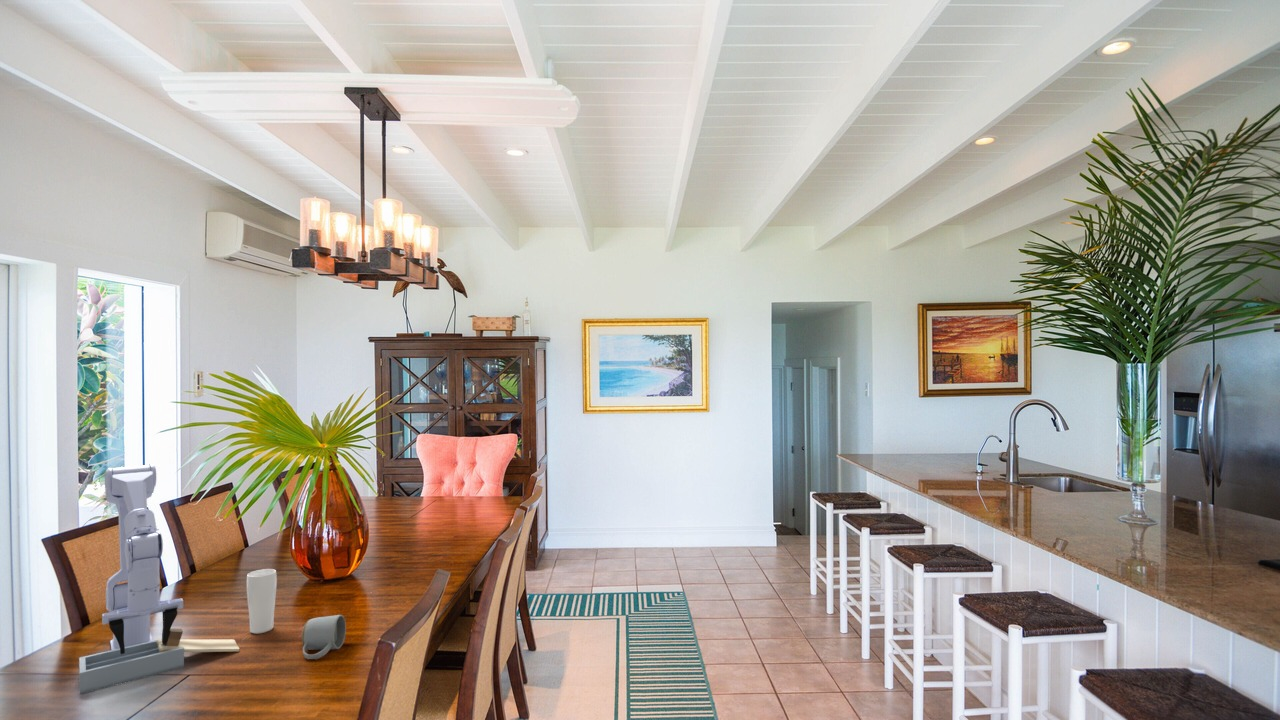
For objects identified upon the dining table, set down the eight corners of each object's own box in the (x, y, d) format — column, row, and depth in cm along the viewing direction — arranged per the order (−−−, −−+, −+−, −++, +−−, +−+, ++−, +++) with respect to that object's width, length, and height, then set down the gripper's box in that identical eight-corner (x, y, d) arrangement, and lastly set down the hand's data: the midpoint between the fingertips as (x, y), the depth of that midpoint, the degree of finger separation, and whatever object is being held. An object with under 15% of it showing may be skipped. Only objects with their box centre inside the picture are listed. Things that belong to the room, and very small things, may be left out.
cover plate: (156, 642, 151) (161, 625, 152) (233, 641, 161) (237, 626, 162) (159, 652, 146) (165, 634, 146) (238, 651, 156) (243, 634, 157)
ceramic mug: (312, 642, 161) (312, 611, 161) (346, 640, 161) (346, 610, 161) (293, 662, 150) (293, 629, 150) (330, 660, 151) (330, 627, 151)
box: (79, 677, 143) (79, 657, 143) (178, 653, 155) (178, 634, 155) (79, 694, 136) (79, 673, 136) (183, 667, 148) (183, 648, 148)
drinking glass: (243, 630, 169) (243, 572, 169) (272, 623, 173) (272, 567, 173) (250, 637, 164) (250, 578, 164) (280, 630, 168) (279, 572, 169)
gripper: (102, 599, 139) (102, 663, 139) (184, 584, 149) (184, 643, 149) (102, 591, 144) (101, 652, 144) (181, 577, 154) (181, 634, 154)
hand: (143, 647), depth 147 cm, fingers open, 7 cm apart
